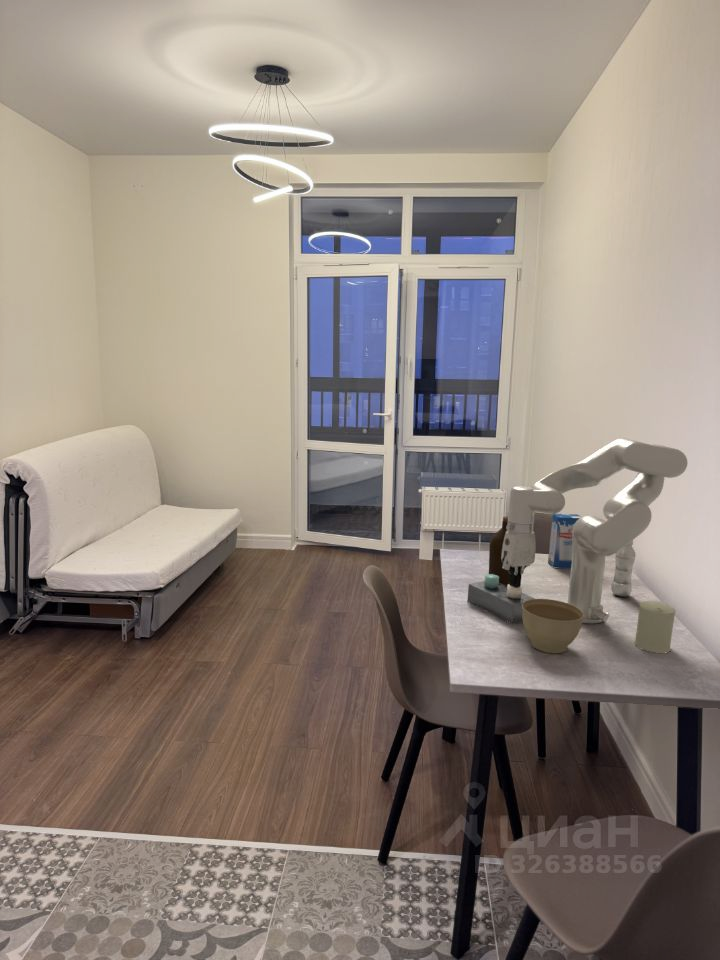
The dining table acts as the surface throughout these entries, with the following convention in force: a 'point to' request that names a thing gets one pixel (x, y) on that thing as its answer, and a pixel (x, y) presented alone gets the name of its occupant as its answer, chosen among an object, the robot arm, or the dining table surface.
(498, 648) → the dining table surface
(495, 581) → the teal knob
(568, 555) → the milk carton
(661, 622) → the can
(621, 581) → the plastic bottle
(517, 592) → the cream knob
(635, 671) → the dining table surface
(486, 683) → the dining table surface
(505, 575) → the olive oil
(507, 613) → the mount block
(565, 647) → the planter bowl
